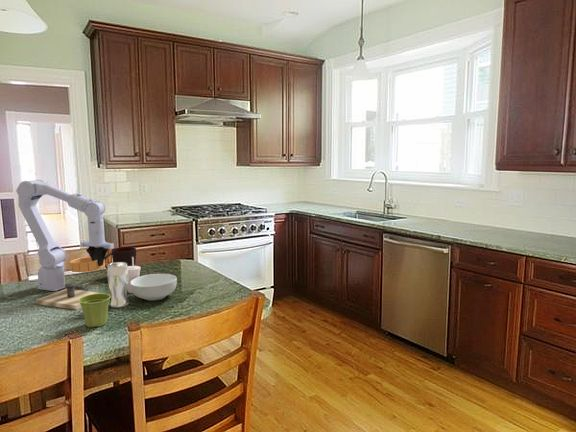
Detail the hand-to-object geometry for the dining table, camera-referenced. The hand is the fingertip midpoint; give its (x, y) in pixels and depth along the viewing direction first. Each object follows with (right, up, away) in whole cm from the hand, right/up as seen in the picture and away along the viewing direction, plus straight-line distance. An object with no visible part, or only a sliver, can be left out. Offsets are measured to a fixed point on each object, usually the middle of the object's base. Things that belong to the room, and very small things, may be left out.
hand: (98, 265), depth 173 cm
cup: (+2, -7, +18) cm, 19 cm away
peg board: (-4, -12, -14) cm, 18 cm away
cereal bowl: (+26, -11, -10) cm, 30 cm away
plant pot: (+15, -15, -36) cm, 41 cm away
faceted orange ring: (-5, -1, +2) cm, 6 cm away
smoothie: (+15, -10, -3) cm, 19 cm away
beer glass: (+16, -12, -18) cm, 27 cm away
